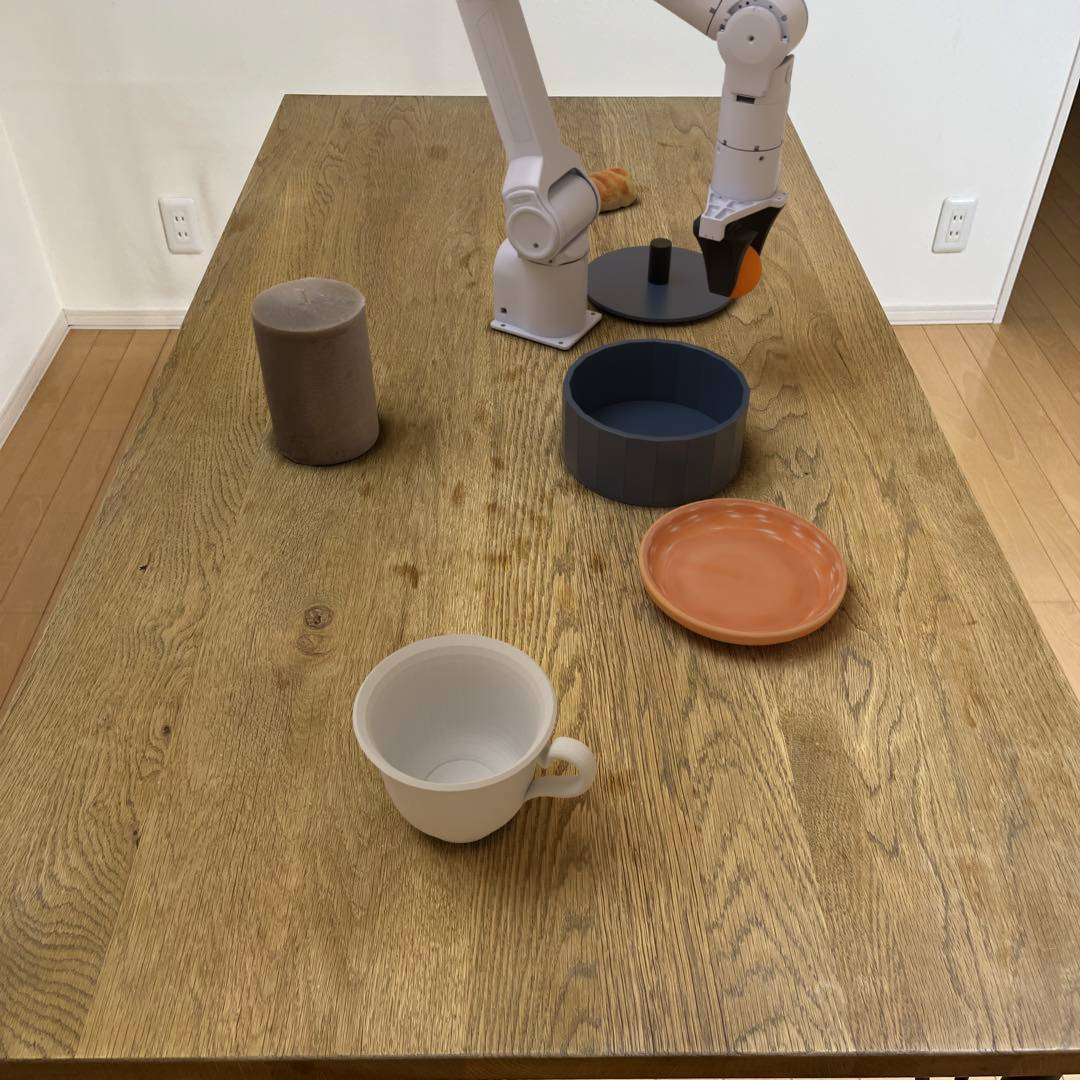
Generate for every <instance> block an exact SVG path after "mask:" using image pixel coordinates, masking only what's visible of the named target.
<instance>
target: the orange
mask: <svg viewBox="0 0 1080 1080" xmlns="http://www.w3.org/2000/svg"><path fill="white" fill-rule="evenodd" d="M762 273H763V264H762V259H761V256H760V257H759V255H758V253H757V252H756V251H755V249H753V248H752V247H751V246H750V245H749V247H748V249H747V251H746V254H745V256H744V259H743V261H742V264H741V268H740V272H739V275H738V279H737V283H736V286H735V288H734V291H733V293H732V295H731V296H730V297H728V298H732V299H736V298H741V297H744V296H747V295H748V294H750V293H751V292H752V291H753V290H754V289H755V288H756V287H757V286H758V284H759V282H760V280H761V277H762ZM706 276H707V275H706ZM724 297H725V296H724Z"/></svg>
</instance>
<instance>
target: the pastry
mask: <svg viewBox="0 0 1080 1080" xmlns="http://www.w3.org/2000/svg"><path fill="white" fill-rule="evenodd" d="M587 175H588V176H589V177H590V178H591V179H592V181H593V182H594V183H595V185H596V187H597V189H598V191H599V194H600V199H601V207H600V212H599V213H603V212H607V211H614V210H617V209H620V208H621V207H623V208H624V207H628V206H630V205H632V204H633V203H634V201H635V200H636V199H637V197H638V190H637V188H636V184H635V182H634V181H633V178H632V175H631V173H630V172H629V171H628V170H627V169H625V168H624V167H623V166H616V167H615V166H613V165H612V166H609V167H608V168H607V169H605V170H603V169H602V170H598V171H594V172H590V173H587Z"/></svg>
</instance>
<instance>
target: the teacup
mask: <svg viewBox="0 0 1080 1080" xmlns="http://www.w3.org/2000/svg"><path fill="white" fill-rule="evenodd" d="M557 713H558V702H557V695H556V691H555V688H554V686H553V684H552V682H551V679H550V678H549V676H548V675H547V673H546V672H545V670H544V669H543V668H542V666H541V665H540V664H538V662H537V661H536V660H535V659H533V658H532V657H531V656H530V655H529V654H528V653H526V652H524V651H523V650H521V649H519V648H518V647H516V646H514V645H512V644H510V643H508V642H505V641H503V640H500V639H497V638H492V637H489V636H485V635H477V634H468V633H467V634H466V633H456V634H453V633H452V634H444V635H443V634H442V635H436V636H432V637H428V638H423V639H421V640H417V641H414V642H412V643H410V644H407V645H405V646H403V647H400V648H399V649H397V650H396V651H393V652H392V653H390V654H389V655H388V656H386V657H385V658H383V660H381V661H380V662H379V663H378V664H376V666H375V667H374V668H373V669H372V670H371V671H370V672H369V674H368V675H367V676H366V677H365V680H364V681H363V682H362V684H361V685H360V687H359V690H358V691H357V694H356V696H355V700H354V704H353V708H352V727H353V731H354V734H355V738H356V740H357V742H358V744H359V747H360V748H361V750H362V751H363V753H364V754H365V756H366V757H367V758H368V760H370V762H372V764H373V765H374V766H376V768H378V769H379V772H380V775H381V777H382V781H383V784H384V787H385V789H386V791H387V793H388V795H389V797H390V799H391V801H392V803H393V805H394V807H395V808H396V809H397V811H398V812H399V814H400V815H401V816H402V817H403V818H404V819H405V821H407V822H408V823H409V824H410V825H412V826H413V827H414V828H416V829H417V830H418V831H421V832H422V833H424V834H426V835H428V836H430V837H431V836H432V837H433V838H434V837H435V838H437V839H438V840H439V839H440V840H442V841H445V842H448V843H455V844H464V843H472V842H475V841H479V840H481V839H483V838H485V837H487V836H489V835H490V834H491V833H493V832H495V831H497V830H498V829H500V828H502V827H503V826H504V825H505V824H507V823H508V822H509V821H511V819H513V817H514V816H515V815H516V814H517V813H518V812H519V811H520V809H521V807H522V806H523V804H524V803H525V802H528V801H529V800H531V799H534V798H539V797H550V798H559V799H570V798H576V797H578V796H579V797H580V796H581V795H583V794H585V793H586V792H587V791H588V790H590V788H591V787H592V785H593V783H594V781H595V779H596V776H597V766H598V765H597V761H596V758H595V755H594V753H593V751H592V750H591V748H589V747H588V746H587V745H586V744H584V743H583V742H581V741H580V740H578V739H575V738H573V737H569V736H559V737H556V738H555V739H554V740H553V741H552V742H551V744H549V743H548V742H549V740H550V738H551V735H552V733H553V731H554V728H555V725H556V720H557ZM555 760H561V761H564V762H566V763H569V764H570V765H572V766H573V767H574V768H575V769H576V770H577V771H578V774H574V775H554V774H553V775H544V776H540V777H537V778H536V779H534V776H535V772H536V767H537V765H538V766H540V768H541V769H548V768H550V767H551V765H552V764H553V763H554V761H555Z"/></svg>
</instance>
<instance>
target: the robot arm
mask: <svg viewBox="0 0 1080 1080" xmlns="http://www.w3.org/2000/svg"><path fill="white" fill-rule="evenodd" d="M653 1H654V2H656V3H657V4H658V5H660V6H661V7H663V8H664V9H666V10H667V11H669V12H671V13H672V14H673V15H675V16H677V17H678V18H679V19H681V20H682V21H684V22H685V23H687V24H688V25H689V26H691V27H693V28H694V29H696V30H697V31H699V32H700V33H702V34H703V35H704V36H706V37H707V38H708V39H710V40H712V41H714V42H716V44H717V45H716V46H717V50H718V52H719V55H720V57H721V59H722V61H723V62H724V64H725V67H724V76H723V82H722V85H721V86H722V88H721V97H720V106H719V114H718V115H719V116H718V124H717V135H716V140H715V141H716V143H715V151H714V158H713V159H714V161H713V170H712V178H711V182H710V183H709V186H708V193H707V200H706V207H705V210H704V212H703V213H701V214H700V215H698V216H697V217H696V218H695V219H694V220H693V221H692V234H693V236H694V237H695V240H696V241H697V244H698V246H699V249H700V251H701V254H703V258H704V262H705V268H706V275H707V282H708V288H709V292H710V293H714V294H718V295H721V296H725V297H730V296H731V295H732V293H733V291H734V288H735V286H736V283H737V279H738V275H739V272H740V268H741V264H742V261H743V259H744V256H745V254H746V251H747V249H748V247H749V245H750V246H751V247H752V248H753V249H755V251H756V252H757V253H758V255H759V257H760V258H761V254H762V251H763V248H764V246H765V243H766V241H767V239H768V236H769V234H770V231H771V229H772V227H773V225H774V223H775V221H776V220H777V218H778V217H779V214H780V213H781V212H782V211H783V209H784V207H785V206H786V205H787V202H788V199H789V193H788V192H786V191H781V190H779V183H780V182H781V177H782V172H783V171H782V169H783V162H781V159H782V151H783V143H784V139H785V138H784V137H785V132H786V131H785V130H786V125H787V118H788V110H789V103H790V97H791V92H792V91H791V90H792V88H791V87H792V83H791V82H792V76H793V68H794V63H795V55H794V53H792V52H793V51H794V49H796V48H797V47H798V46H799V44H800V43H801V41H802V40H803V38H804V37H805V34H806V33H807V30H808V26H809V9H808V6H807V3H806V1H805V0H653ZM455 3H456V5H457V8H458V11H459V15H460V17H461V18H460V19H461V20H462V23H463V27H464V30H465V34H466V36H467V39H468V42H469V46H470V48H471V51H472V54H473V57H474V60H475V63H476V66H477V70H478V73H479V75H480V79H481V81H482V84H483V87H484V90H485V93H486V97H487V100H488V103H489V105H490V110H491V112H492V116H493V117H494V118H493V119H494V121H495V124H496V127H497V130H498V134H499V136H500V139H501V143H502V145H503V148H504V151H505V155H506V157H507V160H508V167H507V170H506V175H505V177H504V182H503V185H502V190H501V197H502V200H503V203H504V207H505V223H504V227H505V228H504V229H505V234H506V237H507V238H505V240H503V242H502V243H500V244H501V245H500V246H499V247H498V249H497V252H496V255H495V258H494V262H493V267H492V268H493V270H492V279H493V280H492V281H493V283H492V284H493V286H492V287H493V314H494V315H493V318H494V319H493V320H492V321H491V322H490V327H491V328H492V329H494V330H498V331H500V332H501V331H502V332H504V333H507V334H511V335H515V336H517V337H521V338H524V339H527V340H530V341H533V342H538V343H540V344H544V345H547V346H551V347H554V348H557V349H560V350H564V351H567V350H569V349H570V348H572V346H574V345H575V344H576V343H577V342H578V341H579V340H580V339H581V338H582V337H583V336H585V334H587V333H588V332H589V331H590V330H591V329H592V328H593V327H594V326H595V325H597V324H598V322H600V321H601V320H602V318H603V317H602V316H603V314H602V313H600V312H597V311H593V310H591V309H587V307H588V297H587V283H588V264H589V251H590V250H589V248H590V242H589V241H590V240H589V229H590V227H589V226H591V225H592V224H593V223H594V222H595V221H596V220H597V218H598V217H599V214H600V213H601V212H600V207H601V199H600V194H599V191H598V189H597V187H596V185H595V183H594V182H593V181H592V179H591V178H590V177H589V176H588V175H587V174H588V173H587V171H586V170H585V168H584V166H583V163H582V159H581V155H579V153H578V152H576V151H575V150H573V149H571V147H569V146H568V145H566V144H564V143H563V141H562V137H561V135H560V131H559V128H558V124H557V121H556V117H555V114H554V110H553V108H552V104H551V101H550V98H549V94H548V92H547V88H546V85H545V81H544V78H543V75H542V72H541V67H540V65H539V61H538V58H537V55H536V51H535V49H534V44H533V42H532V38H531V35H530V32H529V29H528V25H527V22H526V19H525V15H524V13H523V8H522V5H521V2H520V0H455Z"/></svg>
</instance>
